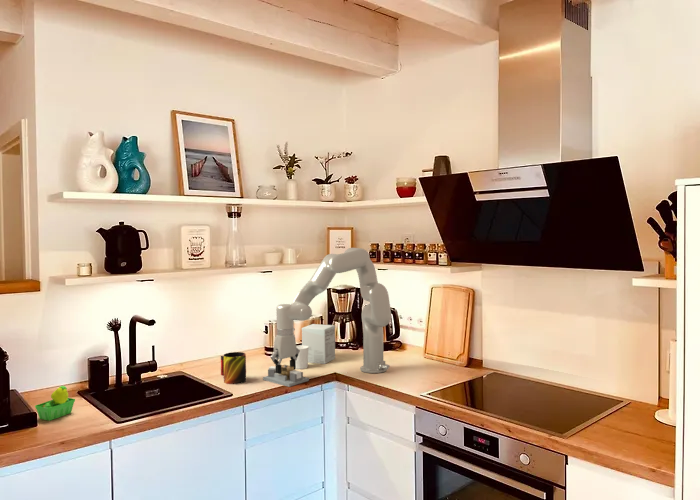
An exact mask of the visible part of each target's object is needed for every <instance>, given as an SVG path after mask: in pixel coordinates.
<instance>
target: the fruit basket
mask: <svg viewBox="0 0 700 500" xmlns="http://www.w3.org/2000/svg"><path fill="white" fill-rule="evenodd" d="M50 399H51V400H47V401H44V402H42V403H39V404H36V405H34V407H35V409H36V411H37V414H38V417H39V420H45V421H49V422H50V421H53V420H56V419H58V418H61V417H64V416H66V415H70V414H72V411H73V407H74V404H75V401H76V398H71V397H69V392H68V389H67V386H66V385H61V386H59V387H58V388H56V389H55V390H54V391H53V392H52V393H51V395H50Z"/></svg>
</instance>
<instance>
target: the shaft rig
mask: <svg viewBox="0 0 700 500" xmlns="http://www.w3.org/2000/svg"><path fill="white" fill-rule="evenodd" d="M262 380H263V381H267V382H270V383H274V384H277V385H281V386H285V387H289V388H290V387H294V386H296V385H300V384H303V383H306V382H309V381H310V378H309V377H306V376H304V372H303V371H300V370H296V369H295V370H293V371H290V379H288V380H287V376H286V375H282V374H278V373H276V365H275V366H274V365H273V366H272V365H271V366H269V367H268V369H267V375H265V376H262Z"/></svg>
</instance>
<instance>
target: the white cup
mask: <svg viewBox="0 0 700 500" xmlns="http://www.w3.org/2000/svg"><path fill="white" fill-rule="evenodd" d="M296 348H298V349H299V350H300V352H299V354H298V357H297V360H296V369H297V370H303V369H308V367H309V365H308V363H309V362H308V350H309V347H308V346H305V345H302V344H300V345H296ZM296 369H295V370H296Z"/></svg>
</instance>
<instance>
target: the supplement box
mask: <svg viewBox="0 0 700 500" xmlns="http://www.w3.org/2000/svg"><path fill="white" fill-rule="evenodd" d="M301 345H305V346H308V347H309V350H308V363H310V364H311V363H313V364H321V365H326V364H327V363H329V362H331V361H333V360H335V359H336V325H333V324H320V323H317V324H316V323H312V324H309V325H306V326H303V327H301Z"/></svg>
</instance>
